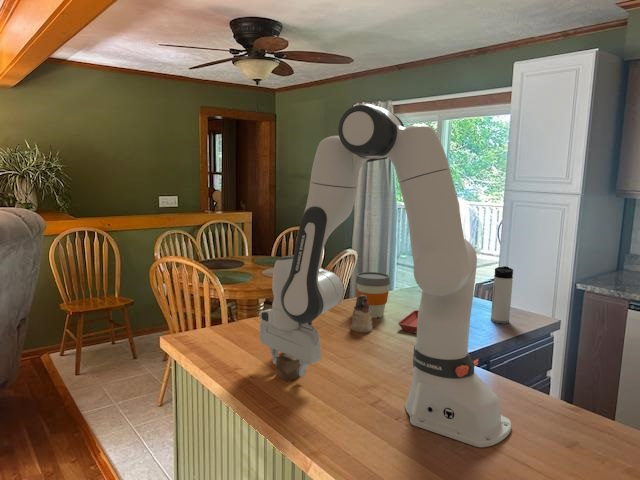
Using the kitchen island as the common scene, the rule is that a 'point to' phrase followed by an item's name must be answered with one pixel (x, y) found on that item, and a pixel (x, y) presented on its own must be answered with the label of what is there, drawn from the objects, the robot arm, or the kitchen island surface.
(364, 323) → the figurine
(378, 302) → the reusable coffee cup
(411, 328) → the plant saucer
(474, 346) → the kitchen island surface
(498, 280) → the travel mug
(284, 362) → the grey block
